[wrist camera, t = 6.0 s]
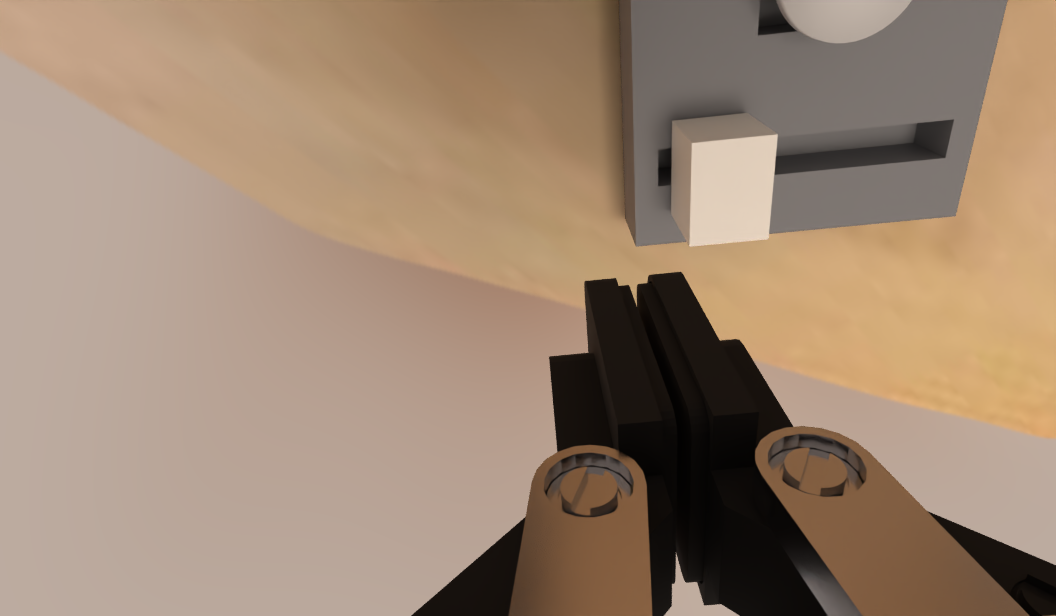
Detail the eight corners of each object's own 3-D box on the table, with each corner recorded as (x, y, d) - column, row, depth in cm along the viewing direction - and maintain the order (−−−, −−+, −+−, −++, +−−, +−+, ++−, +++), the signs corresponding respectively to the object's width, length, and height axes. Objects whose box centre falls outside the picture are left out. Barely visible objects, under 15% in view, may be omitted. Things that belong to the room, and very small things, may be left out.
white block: (729, 100, 27) (777, 134, 22) (725, 188, 29) (768, 239, 24) (660, 107, 28) (691, 142, 22) (660, 195, 29) (689, 246, 24)
